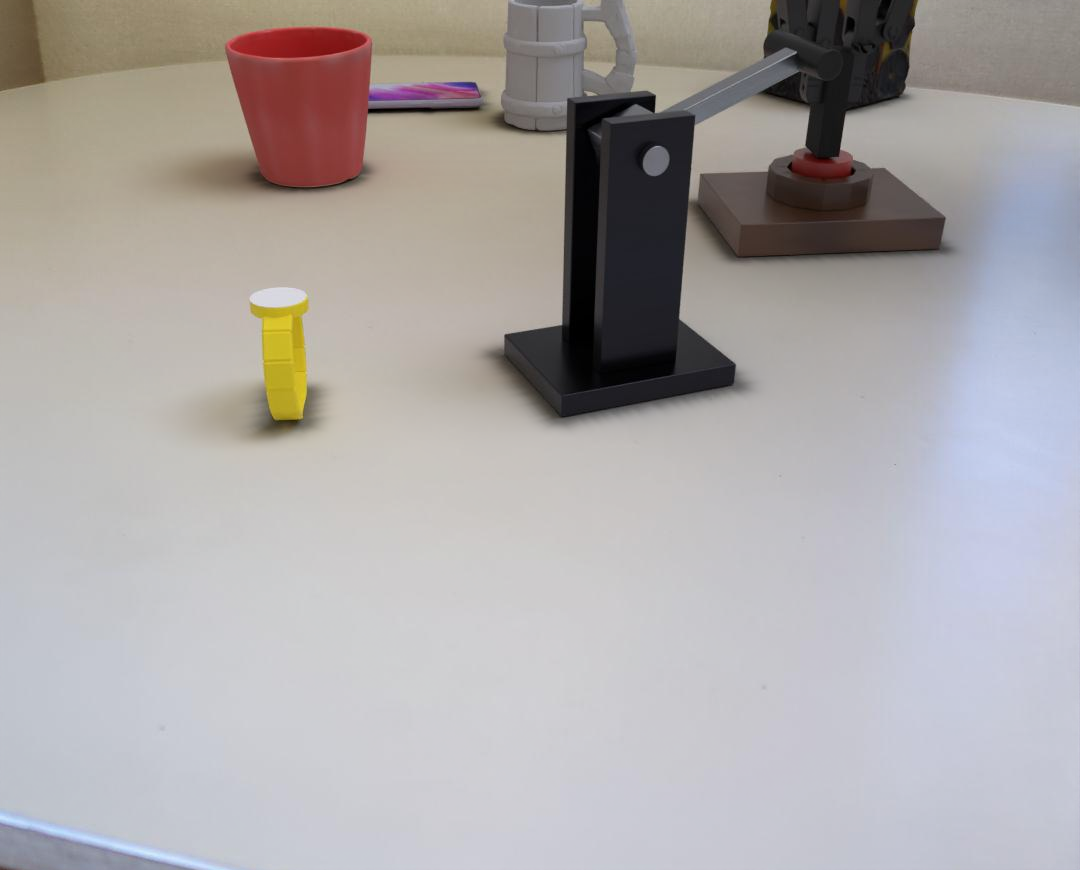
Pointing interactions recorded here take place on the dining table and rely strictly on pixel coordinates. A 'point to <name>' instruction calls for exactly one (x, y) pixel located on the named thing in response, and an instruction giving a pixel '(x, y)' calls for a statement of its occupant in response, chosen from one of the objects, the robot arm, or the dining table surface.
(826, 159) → the button
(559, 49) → the mug
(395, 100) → the smartphone
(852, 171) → the switch block
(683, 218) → the switch bracket
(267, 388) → the watch
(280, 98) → the flower pot
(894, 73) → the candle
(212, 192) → the dining table surface
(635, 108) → the switch lever
